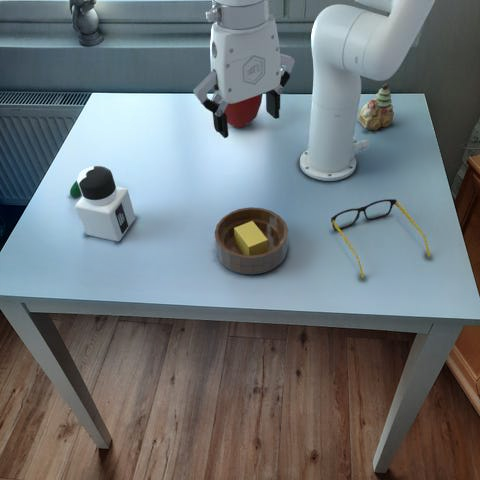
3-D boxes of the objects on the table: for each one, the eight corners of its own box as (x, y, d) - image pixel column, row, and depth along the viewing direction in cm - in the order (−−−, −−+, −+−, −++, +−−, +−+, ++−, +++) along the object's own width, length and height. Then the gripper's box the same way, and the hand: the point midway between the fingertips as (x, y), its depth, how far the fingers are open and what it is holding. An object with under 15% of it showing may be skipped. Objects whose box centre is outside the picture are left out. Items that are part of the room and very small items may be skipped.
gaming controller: (112, 208, 104) (118, 181, 103) (102, 205, 100) (108, 177, 99) (78, 198, 106) (84, 171, 105) (67, 195, 103) (73, 167, 102)
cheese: (252, 236, 93) (252, 220, 90) (267, 254, 90) (267, 239, 87) (235, 243, 92) (233, 227, 89) (249, 262, 89) (248, 247, 86)
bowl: (265, 218, 97) (265, 199, 93) (300, 259, 90) (301, 240, 86) (205, 241, 94) (203, 222, 90) (236, 286, 86) (235, 267, 82)
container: (136, 218, 99) (121, 164, 88) (119, 243, 94) (101, 189, 84) (104, 211, 101) (85, 158, 90) (85, 235, 96) (64, 182, 86)
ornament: (368, 135, 113) (376, 94, 105) (353, 123, 117) (359, 82, 109) (394, 125, 115) (404, 84, 107) (379, 114, 119) (387, 73, 111)
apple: (263, 135, 115) (263, 80, 105) (216, 136, 116) (211, 82, 105) (262, 109, 122) (262, 55, 112) (218, 110, 123) (213, 57, 112)
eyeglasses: (389, 211, 97) (393, 195, 94) (429, 257, 88) (436, 242, 85) (326, 229, 94) (328, 214, 91) (362, 279, 86) (366, 264, 83)
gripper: (197, 38, 61) (212, 153, 75) (309, 3, 65) (303, 118, 79) (174, 18, 65) (192, 130, 79) (280, -15, 69) (280, 98, 83)
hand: (247, 124), depth 79 cm, fingers open, 9 cm apart
